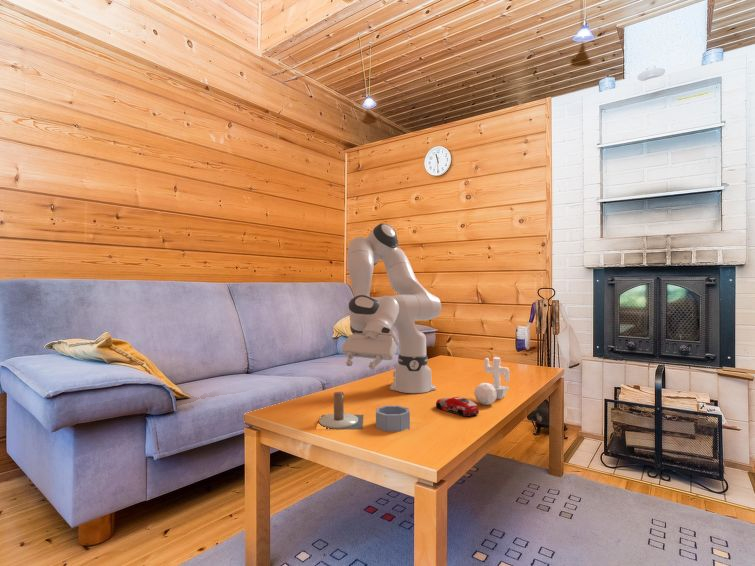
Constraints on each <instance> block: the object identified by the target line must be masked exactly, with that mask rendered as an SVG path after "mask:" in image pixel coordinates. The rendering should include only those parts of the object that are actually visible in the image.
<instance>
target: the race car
mask: <svg viewBox="0 0 755 566" xmlns="http://www.w3.org/2000/svg"><path fill="white" fill-rule="evenodd" d="M435 407H436V409H437V410H440V411H441V410H443V411H446V412H450V413H451V414H452V413H453V414H455V415H458V416H459V417H460V416H461V417H469V416H474V415H477V414H479V406H478V404H477V403H475V402H473V401H472V400H470V399H468V398H466V397H462V396H454V397H450V398H449V397H443V398H439V399H437V400H436V402H435Z"/></svg>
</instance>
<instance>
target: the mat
mask: <svg viewBox="0 0 755 566" xmlns="http://www.w3.org/2000/svg"><path fill="white" fill-rule="evenodd" d="M321 415H322V416H325V415H326V414H321ZM354 415H355V416H357V417H358V423H357V424H356V425H355V426H352V427H349V428H342V429H341V430H363V428H364V414H354ZM322 416H321V417H322ZM326 429H328V428H326ZM329 429H332V428H329Z"/></svg>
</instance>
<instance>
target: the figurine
mask: <svg viewBox="0 0 755 566" xmlns="http://www.w3.org/2000/svg"><path fill="white" fill-rule="evenodd" d="M492 364H493V365H490V359H489V358H488V357H486V358H484V364H483V366H484V372H485V373H487V374H493V376H492V379H493V382H492V383H490V384H491V385H492V386H493V387H494V388H495V390H496V393H497V397H496V399H498V400H500V399H501V400H502V398H504V397H505V395H506V393H507V392H508V389H509V388H510V387H509V386H508V385H501V375H504V382H505V383H508V382H510V369H509V367H505V366H501V358H500V357H499V356H495V357H492Z"/></svg>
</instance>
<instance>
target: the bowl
mask: <svg viewBox="0 0 755 566" xmlns="http://www.w3.org/2000/svg"><path fill="white" fill-rule="evenodd" d="M410 415H411V413H410V409H409V407H405V406H402V405H382V406H380V407H379V406H378V407H376V408H375V428H376V429H377V430H381V431H383V432H403V431H405V430H410V429H411V427H410V426H411V423H410V422H411V421H410V420H411V418H410Z"/></svg>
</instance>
